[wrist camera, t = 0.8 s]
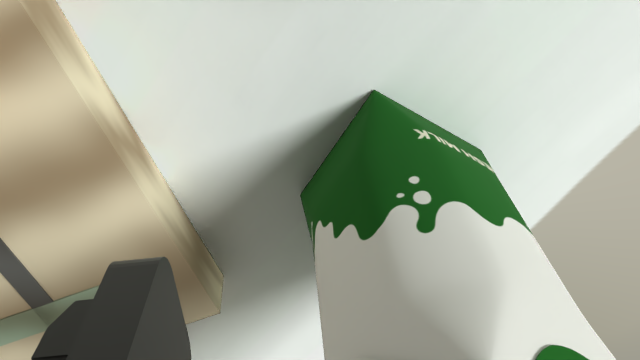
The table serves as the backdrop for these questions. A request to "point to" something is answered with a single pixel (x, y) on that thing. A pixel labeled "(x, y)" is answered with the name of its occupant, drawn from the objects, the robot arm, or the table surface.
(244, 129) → the table surface
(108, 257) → the fader console
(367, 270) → the milk carton
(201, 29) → the table surface
